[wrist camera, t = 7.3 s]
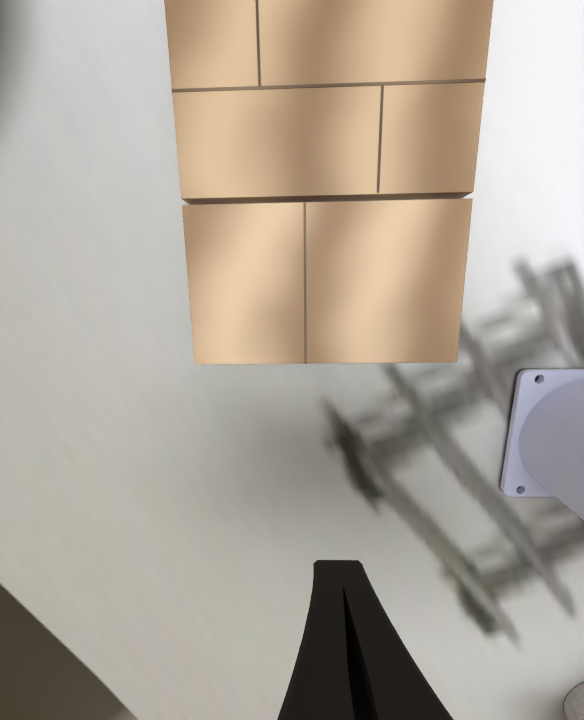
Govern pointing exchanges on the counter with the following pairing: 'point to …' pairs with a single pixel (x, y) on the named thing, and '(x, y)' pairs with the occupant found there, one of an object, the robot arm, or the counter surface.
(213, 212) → the click plank
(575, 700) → the house plant
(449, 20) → the laid floor boards
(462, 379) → the counter surface
